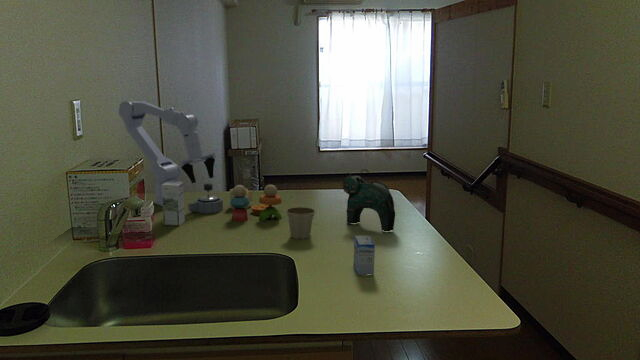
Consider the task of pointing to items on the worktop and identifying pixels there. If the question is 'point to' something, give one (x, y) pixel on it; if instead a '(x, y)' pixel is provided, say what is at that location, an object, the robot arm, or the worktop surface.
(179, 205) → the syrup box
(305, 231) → the flower pot
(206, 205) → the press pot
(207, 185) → the plunger
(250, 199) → the beige rounded domed part
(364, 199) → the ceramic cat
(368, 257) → the medicine box
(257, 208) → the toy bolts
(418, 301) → the worktop surface
